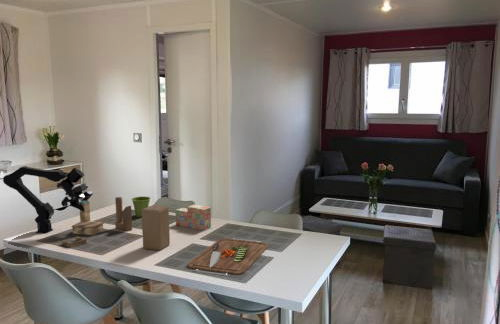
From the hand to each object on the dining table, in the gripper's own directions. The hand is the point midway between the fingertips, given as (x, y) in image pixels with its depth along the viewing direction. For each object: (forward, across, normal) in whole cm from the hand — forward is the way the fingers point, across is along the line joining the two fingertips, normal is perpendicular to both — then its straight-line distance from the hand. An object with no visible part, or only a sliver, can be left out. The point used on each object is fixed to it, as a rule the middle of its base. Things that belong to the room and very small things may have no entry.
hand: (86, 209), depth 229 cm
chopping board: (+72, -3, -52) cm, 89 cm away
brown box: (+8, +2, +11) cm, 14 cm away
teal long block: (+4, 0, +6) cm, 7 cm away
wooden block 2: (+19, +14, 0) cm, 23 cm away
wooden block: (+44, -5, -25) cm, 51 cm away
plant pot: (+13, +42, +6) cm, 44 cm away
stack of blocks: (+43, +32, -25) cm, 59 cm away
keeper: (+14, -16, +5) cm, 22 cm away
